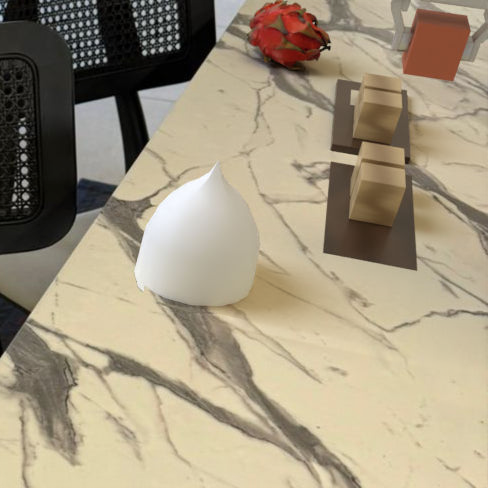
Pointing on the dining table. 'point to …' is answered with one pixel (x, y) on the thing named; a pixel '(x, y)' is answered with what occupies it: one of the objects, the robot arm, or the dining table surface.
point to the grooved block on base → (372, 209)
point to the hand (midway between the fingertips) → (431, 54)
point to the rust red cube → (436, 44)
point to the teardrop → (200, 245)
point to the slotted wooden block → (370, 114)
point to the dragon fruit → (287, 34)
